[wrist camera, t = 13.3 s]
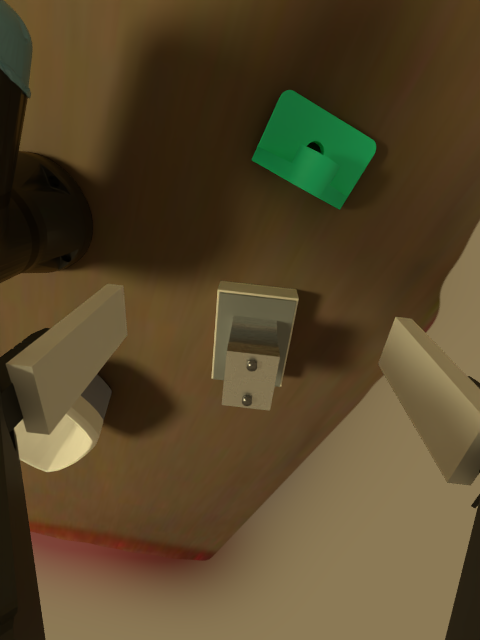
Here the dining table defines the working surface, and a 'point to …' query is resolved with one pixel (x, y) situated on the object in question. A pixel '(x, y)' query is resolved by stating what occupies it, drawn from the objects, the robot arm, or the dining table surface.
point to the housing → (251, 363)
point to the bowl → (67, 431)
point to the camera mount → (307, 164)
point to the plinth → (254, 305)
